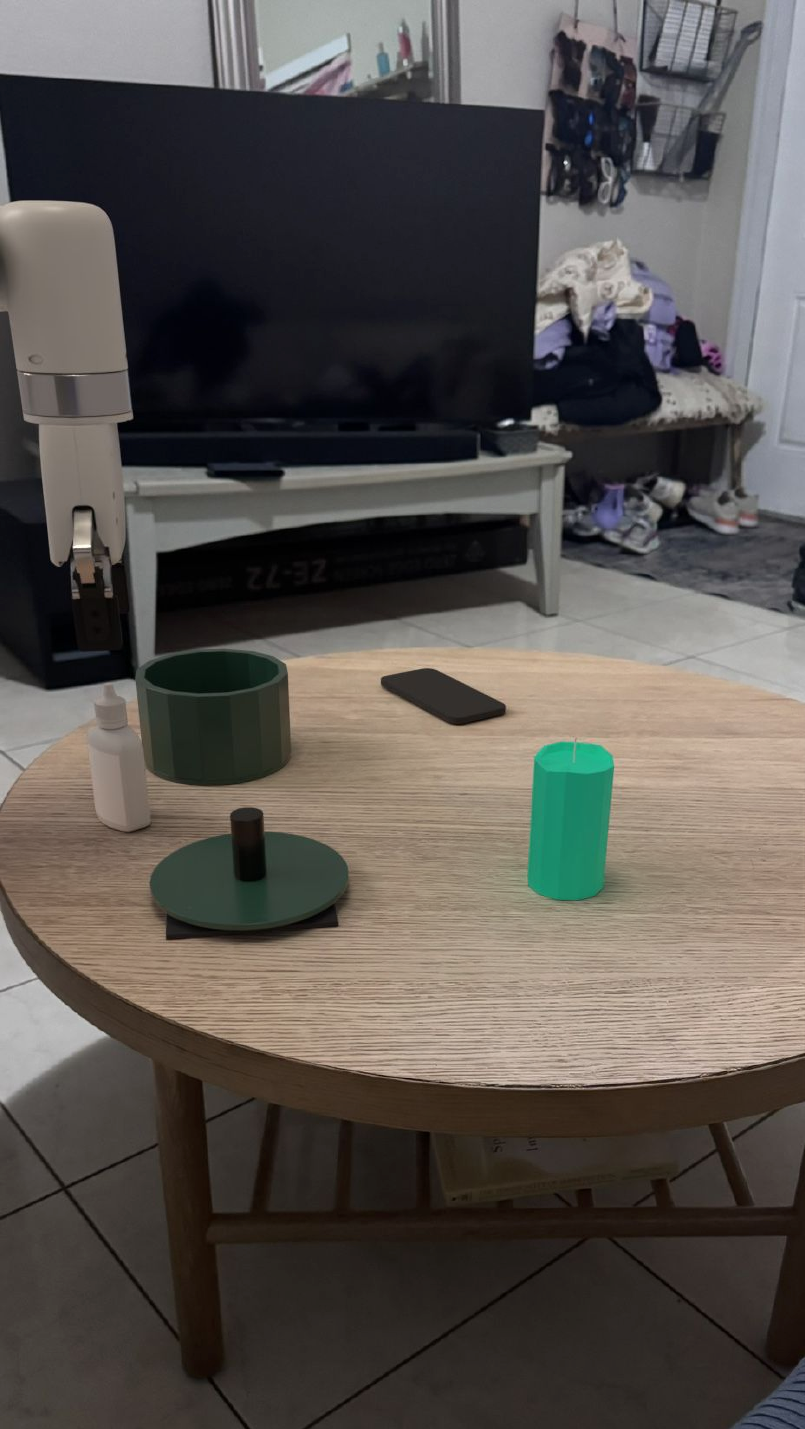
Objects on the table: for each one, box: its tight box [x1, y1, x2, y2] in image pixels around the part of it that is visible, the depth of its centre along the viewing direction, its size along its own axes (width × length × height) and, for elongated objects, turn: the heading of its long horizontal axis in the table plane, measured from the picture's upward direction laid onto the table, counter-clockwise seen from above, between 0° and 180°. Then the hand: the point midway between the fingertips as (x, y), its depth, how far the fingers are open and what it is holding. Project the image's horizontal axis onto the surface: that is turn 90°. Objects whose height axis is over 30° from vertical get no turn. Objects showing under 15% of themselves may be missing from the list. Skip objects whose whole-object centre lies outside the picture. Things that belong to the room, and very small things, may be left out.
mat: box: [165, 902, 339, 941], centre depth 87 cm, size 12×12×1 cm
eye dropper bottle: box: [86, 682, 152, 833], centre depth 95 cm, size 4×6×12 cm
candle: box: [526, 736, 615, 901], centre depth 88 cm, size 6×6×12 cm
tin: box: [134, 648, 292, 786], centre depth 109 cm, size 14×14×8 cm
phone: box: [380, 667, 507, 725], centre depth 126 cm, size 7×1×15 cm
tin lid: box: [149, 806, 350, 930], centre depth 86 cm, size 15×15×6 cm
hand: (105, 630), depth 91 cm, fingers open, 9 cm apart
